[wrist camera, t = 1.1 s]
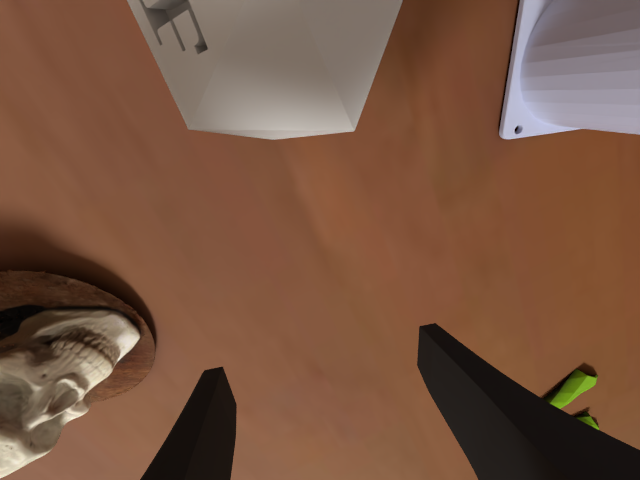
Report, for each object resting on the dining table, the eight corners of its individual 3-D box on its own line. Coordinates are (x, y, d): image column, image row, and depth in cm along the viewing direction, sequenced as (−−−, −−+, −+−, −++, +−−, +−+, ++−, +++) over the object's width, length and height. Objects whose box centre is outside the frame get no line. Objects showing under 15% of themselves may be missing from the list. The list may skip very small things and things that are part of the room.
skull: (88, 236, 16) (104, 452, 13) (168, 275, 26) (187, 403, 23) (-190, 300, 14) (-243, 571, 11) (11, 316, 24) (11, 461, 21)
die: (129, -50, 12) (-217, -414, 4) (332, -116, 13) (494, -629, 4) (218, 150, 16) (161, 217, 7) (373, 99, 16) (498, 104, 8)
